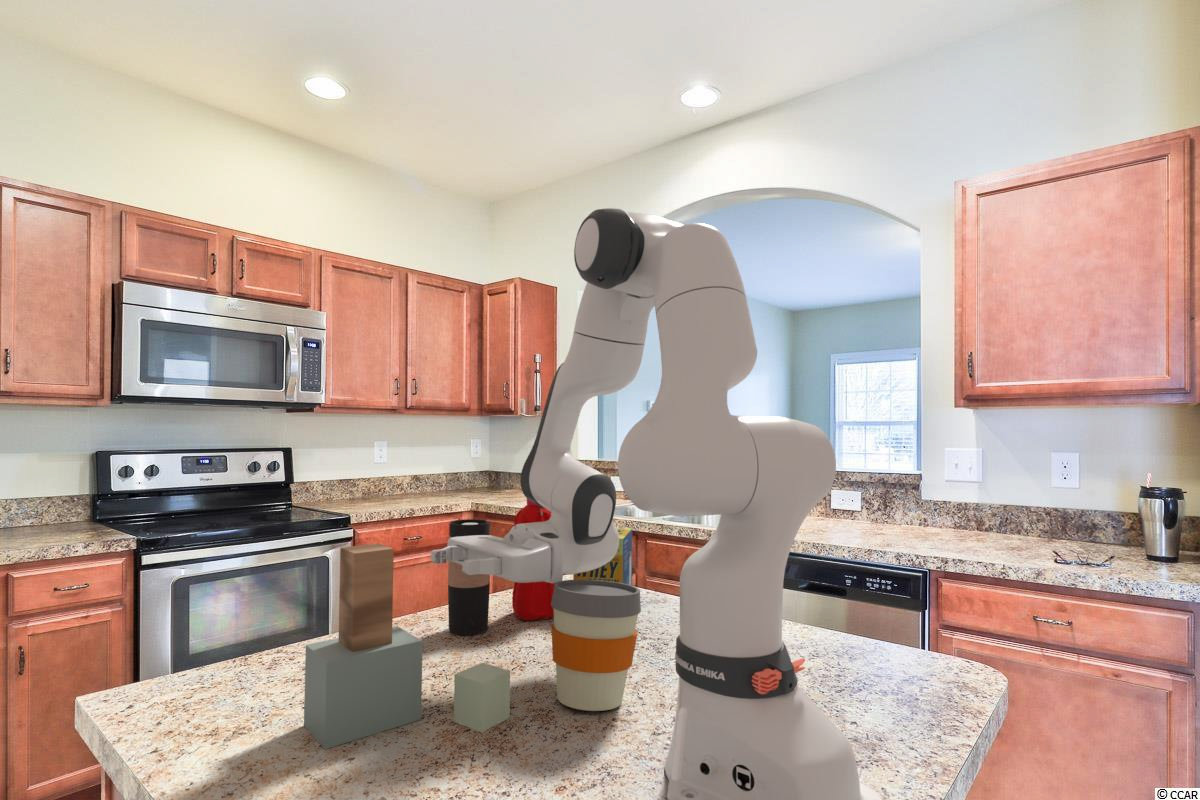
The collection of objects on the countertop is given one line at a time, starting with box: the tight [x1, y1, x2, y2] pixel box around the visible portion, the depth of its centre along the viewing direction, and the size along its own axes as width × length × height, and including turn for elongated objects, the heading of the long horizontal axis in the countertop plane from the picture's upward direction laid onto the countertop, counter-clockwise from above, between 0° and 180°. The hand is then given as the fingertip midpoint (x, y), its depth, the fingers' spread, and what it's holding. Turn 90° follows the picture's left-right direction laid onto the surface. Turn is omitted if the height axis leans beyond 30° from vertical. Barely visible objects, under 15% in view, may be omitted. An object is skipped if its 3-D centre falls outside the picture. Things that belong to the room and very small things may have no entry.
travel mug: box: [447, 518, 491, 637], centre depth 120 cm, size 8×8×20 cm
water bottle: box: [511, 498, 555, 622], centre depth 129 cm, size 9×11×25 cm
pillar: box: [338, 542, 395, 652], centre depth 83 cm, size 5×5×12 cm
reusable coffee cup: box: [550, 579, 642, 712], centre depth 89 cm, size 13×13×15 cm
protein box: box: [572, 526, 633, 586], centre depth 138 cm, size 10×15×16 cm
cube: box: [453, 662, 511, 733], centre depth 83 cm, size 5×5×6 cm
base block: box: [303, 626, 423, 750], centre depth 82 cm, size 8×12×10 cm, turn 131°
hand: (448, 562), depth 91 cm, fingers open, 8 cm apart
